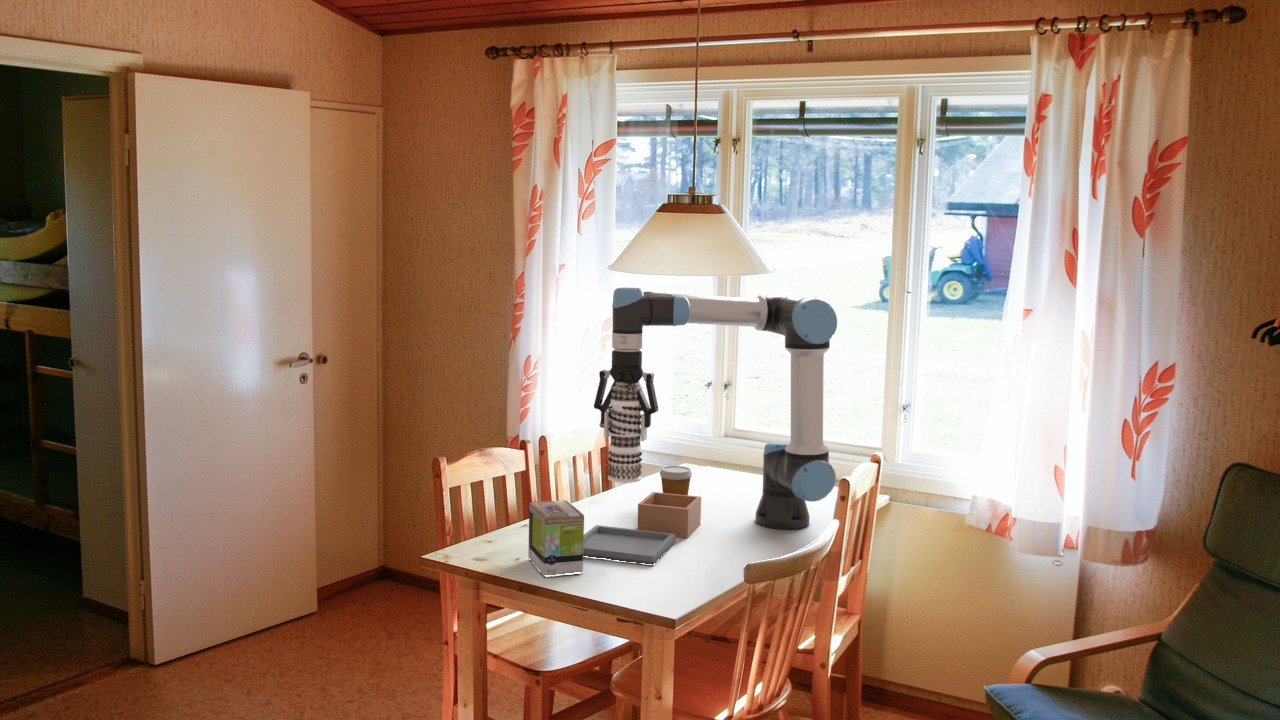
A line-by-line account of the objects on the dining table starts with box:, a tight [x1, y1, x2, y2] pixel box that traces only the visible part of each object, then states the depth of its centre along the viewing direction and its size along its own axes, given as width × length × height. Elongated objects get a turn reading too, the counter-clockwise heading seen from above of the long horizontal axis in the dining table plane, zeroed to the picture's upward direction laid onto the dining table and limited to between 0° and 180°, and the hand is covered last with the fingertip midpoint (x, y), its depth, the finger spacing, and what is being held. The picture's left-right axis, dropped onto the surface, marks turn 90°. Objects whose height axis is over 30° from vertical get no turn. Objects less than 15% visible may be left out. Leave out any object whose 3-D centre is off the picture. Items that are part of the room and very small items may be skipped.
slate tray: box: [583, 524, 676, 565], centre depth 266 cm, size 22×20×2 cm
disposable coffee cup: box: [659, 465, 693, 495], centre depth 304 cm, size 10×10×12 cm
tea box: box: [528, 499, 585, 575], centre depth 250 cm, size 15×10×15 cm, turn 21°
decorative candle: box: [607, 382, 644, 484], centre depth 262 cm, size 9×9×25 cm
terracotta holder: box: [636, 491, 702, 539], centre depth 284 cm, size 14×14×8 cm
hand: (625, 438), depth 262 cm, fingers closed on decorative candle, 9 cm apart
